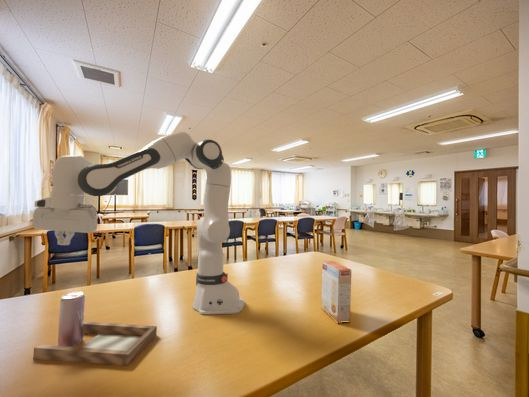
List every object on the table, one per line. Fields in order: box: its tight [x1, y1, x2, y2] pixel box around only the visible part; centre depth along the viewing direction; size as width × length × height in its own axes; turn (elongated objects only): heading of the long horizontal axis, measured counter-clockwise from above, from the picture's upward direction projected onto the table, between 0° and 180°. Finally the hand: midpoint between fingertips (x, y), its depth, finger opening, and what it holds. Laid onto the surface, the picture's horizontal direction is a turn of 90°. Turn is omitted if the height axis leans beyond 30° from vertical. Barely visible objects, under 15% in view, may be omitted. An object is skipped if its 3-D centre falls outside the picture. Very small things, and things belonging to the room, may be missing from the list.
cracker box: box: [321, 260, 352, 322], centre depth 98 cm, size 14×6×21 cm, turn 12°
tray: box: [32, 321, 158, 367], centre depth 72 cm, size 28×15×3 cm, turn 86°
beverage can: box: [57, 291, 86, 347], centre depth 73 cm, size 6×6×15 cm
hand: (63, 244), depth 78 cm, fingers closed
